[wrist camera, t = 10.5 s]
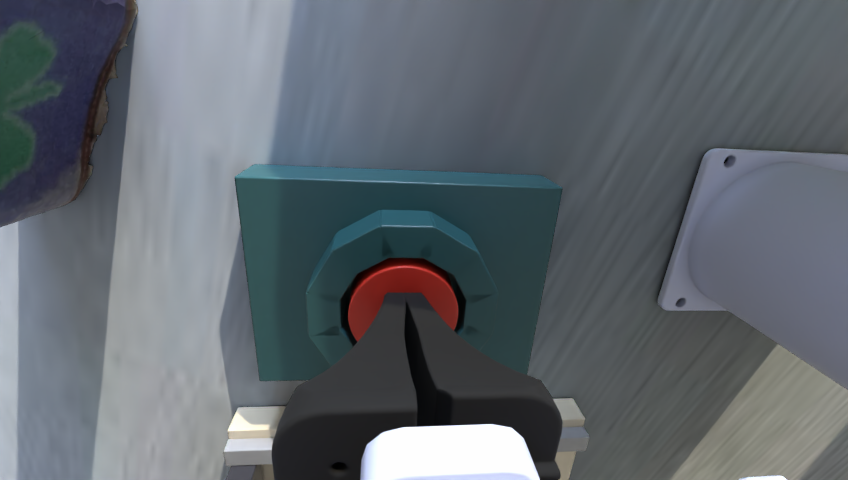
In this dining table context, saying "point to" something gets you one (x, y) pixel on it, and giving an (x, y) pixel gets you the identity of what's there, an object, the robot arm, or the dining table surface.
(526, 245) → the control block
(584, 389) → the dining table surface
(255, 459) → the tap rail
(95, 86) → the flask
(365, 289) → the button
